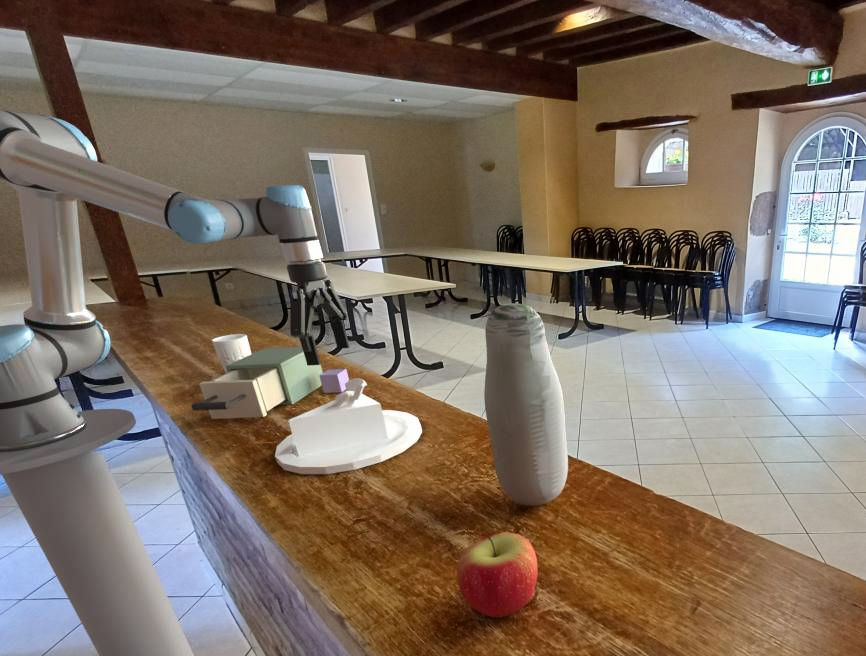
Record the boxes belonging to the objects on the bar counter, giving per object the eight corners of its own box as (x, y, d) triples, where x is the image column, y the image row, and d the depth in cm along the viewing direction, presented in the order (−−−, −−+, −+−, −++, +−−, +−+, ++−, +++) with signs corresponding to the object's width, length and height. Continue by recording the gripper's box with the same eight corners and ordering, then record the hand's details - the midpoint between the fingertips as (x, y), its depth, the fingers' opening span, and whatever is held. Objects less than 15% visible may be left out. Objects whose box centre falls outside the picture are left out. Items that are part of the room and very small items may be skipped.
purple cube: (323, 393, 129) (319, 375, 128) (333, 386, 134) (328, 369, 132) (341, 392, 129) (337, 374, 127) (350, 386, 133) (346, 368, 132)
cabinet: (292, 404, 123) (280, 363, 119) (238, 406, 124) (225, 365, 120) (325, 383, 137) (315, 345, 133) (277, 384, 137) (265, 347, 134)
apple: (457, 637, 55) (441, 556, 52) (471, 582, 63) (457, 507, 59) (539, 631, 56) (529, 549, 52) (543, 576, 64) (534, 501, 60)
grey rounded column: (584, 495, 80) (569, 301, 69) (528, 526, 73) (501, 317, 62) (541, 474, 86) (521, 294, 75) (486, 501, 80) (456, 308, 69)
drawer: (244, 429, 109) (231, 392, 106) (189, 431, 109) (175, 394, 106) (299, 394, 127) (290, 361, 124) (252, 396, 128) (241, 363, 125)
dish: (386, 407, 118) (375, 356, 114) (445, 437, 101) (435, 379, 97) (260, 446, 103) (241, 389, 98) (305, 490, 86) (285, 423, 82)
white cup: (221, 374, 149) (209, 338, 145) (253, 367, 154) (243, 332, 150) (227, 380, 143) (214, 343, 139) (260, 373, 148) (249, 336, 144)
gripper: (318, 256, 132) (339, 342, 140) (252, 271, 109) (283, 373, 117) (348, 254, 131) (368, 341, 139) (288, 269, 108) (317, 372, 116)
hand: (329, 356), depth 128 cm, fingers open, 13 cm apart
